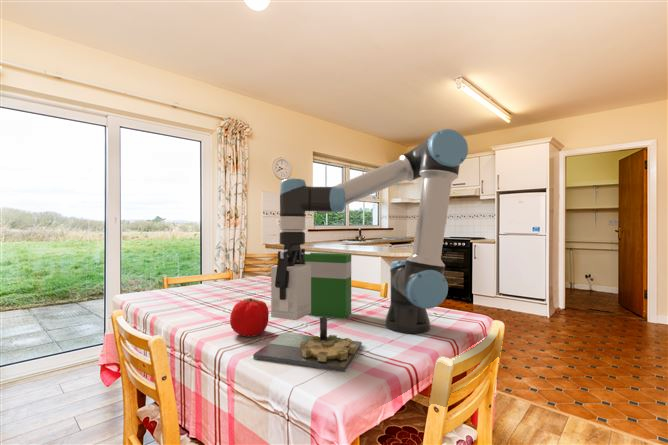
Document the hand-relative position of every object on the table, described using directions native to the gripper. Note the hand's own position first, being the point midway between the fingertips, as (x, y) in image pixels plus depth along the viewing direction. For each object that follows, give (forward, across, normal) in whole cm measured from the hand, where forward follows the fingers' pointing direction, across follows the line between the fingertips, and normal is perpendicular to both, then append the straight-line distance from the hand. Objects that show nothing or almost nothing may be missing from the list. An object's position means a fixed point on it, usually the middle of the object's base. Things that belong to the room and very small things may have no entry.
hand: (291, 306), depth 96 cm
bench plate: (+11, +4, +8) cm, 14 cm away
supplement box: (+3, 0, 0) cm, 3 cm away
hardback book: (+11, -35, -1) cm, 37 cm away
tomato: (+11, -4, -17) cm, 21 cm away
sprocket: (+9, +5, +13) cm, 17 cm away
